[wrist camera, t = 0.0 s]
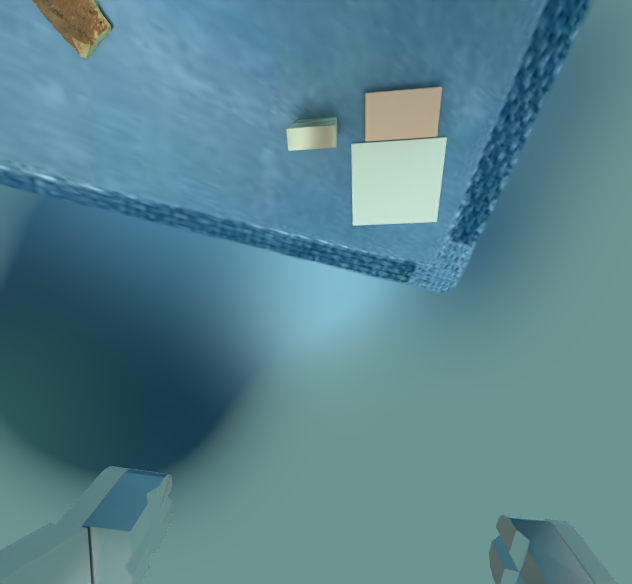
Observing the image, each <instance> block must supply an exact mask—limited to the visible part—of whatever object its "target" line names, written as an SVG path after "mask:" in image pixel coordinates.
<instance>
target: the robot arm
mask: <svg viewBox="0 0 632 584" xmlns="http://www.w3.org/2000/svg"><path fill="white" fill-rule="evenodd" d="M171 489H172V477H171V476H170V475H169V474H162V473H156V472H148V471H142V470H135V469H125V468H119V467H112V466H110V467H109V468H107V469H105V470H104V471H103V472H102V473H101V474H100V475H99V476H98V477H97V478H96V479H95V481H94V482H93V483H92V484H91V485H90V486H89V487H88V488H87V490H86V491H85V492H84V493H83V494H82V495H81V496H80V498H79V499H78V500H77V501H76V502H75V503H74V504H73V506H72V507H71V508H70V509H69V510H68V511H67V512H66V513H65V515H64V516H63V517H62V518H61V519H60V520H59V521H58V522H57V523H56V524H53V523H49V524H47V525H45V526H43V527H42V528H40V529H38V530H36V531H34V532H32V533H30V534H29V535H27V536H25V537H23V538H21V539H19V540H18V541H16V542H14V543H12V544H10V545H8V546H7V547H5V548H3V549H1V550H0V584H141V583H142V581H143V579H144V577H145V575H146V573H147V571H148V569H149V556H150V555H151V554H152V553H154V552H155V551H156V550H157V549H159V548H160V546H161V544H162V542H163V539H164V538H165V535H166V533H167V530H168V526H169V523H170V518H171V513H172V502H171V501H170V499H169V498H168V497H167V496H168V494H169V492H170V490H171ZM496 528H497V530H498V532H499V534H500V535H499V536H498V537H497V538H496V539H494V540H493V541H492V542H491V547H490V551H489V559H490V568H491V572H492V576H493V579H494V581H495V584H618V583H617V582H616V581H615V579H614V578H613V577H612V576H611V574H610V573H609V572H608V570H607V569H606V568H605V567H604V565H603V564H602V563H601V562H600V560H599V559H598V557H597V556H596V555H595V554H594V552H593V551H592V550H591V548H590V547H589V546H588V545H587V543H586V542H585V541H584V540H583V538H582V537H581V536H580V534H579V533H578V532H577V531H576V529H575V528H574V527H573V526H572V525H571V524H570V523H568V522H567V521H559V520H550V519H540V518H531V517H522V516H513V515H504V514H502V515H501V516H500V517H499V519H498V521H497V525H496Z"/></svg>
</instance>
